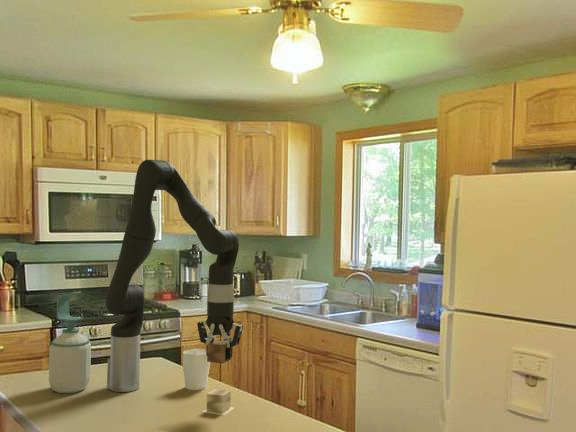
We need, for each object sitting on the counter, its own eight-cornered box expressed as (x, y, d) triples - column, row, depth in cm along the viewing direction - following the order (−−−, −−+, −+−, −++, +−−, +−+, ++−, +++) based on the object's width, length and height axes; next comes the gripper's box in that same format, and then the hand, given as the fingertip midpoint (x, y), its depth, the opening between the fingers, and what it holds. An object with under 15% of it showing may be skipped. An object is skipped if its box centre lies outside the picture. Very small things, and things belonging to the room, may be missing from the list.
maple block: (206, 411, 163) (206, 393, 163) (214, 405, 168) (215, 388, 168) (222, 413, 162) (222, 395, 162) (230, 408, 166) (230, 390, 166)
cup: (204, 394, 181) (205, 355, 181) (177, 391, 183) (178, 354, 183) (213, 386, 190) (214, 349, 190) (187, 384, 192) (188, 347, 192)
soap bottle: (71, 397, 175) (74, 294, 176) (39, 392, 180) (41, 292, 180) (98, 386, 187) (100, 290, 187) (67, 382, 191) (69, 288, 191)
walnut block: (207, 361, 163) (207, 344, 163) (215, 357, 168) (215, 340, 168) (222, 363, 161) (223, 345, 162) (230, 359, 166) (231, 342, 166)
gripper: (191, 299, 164) (190, 359, 164) (237, 303, 159) (236, 364, 159) (204, 296, 171) (203, 353, 171) (248, 299, 166) (247, 358, 166)
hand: (219, 358), depth 165 cm, fingers closed on walnut block, 5 cm apart
